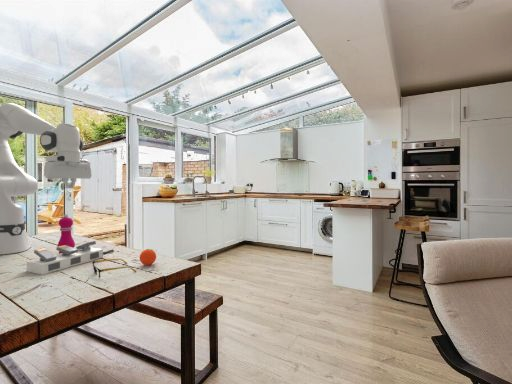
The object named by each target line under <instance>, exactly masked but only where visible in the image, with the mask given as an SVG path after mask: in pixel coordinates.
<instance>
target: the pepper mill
mask: <svg viewBox="0 0 512 384" xmlns="http://www.w3.org/2000/svg"><path fill="white" fill-rule="evenodd" d="M73 225H74V220H73V219H72V218H71V217H69V215H68V214H66V213H65V214H63V217H62V218H60V219H59V220H58V226H59V227H60V228H59V231H60V237H59V240H58V243H57V247H59V246H63V245H66V246H69V247H72V248H75V247H76V243H75V241H74V238H73V236H72V230H73ZM61 253H63V252H61V251H58V254H61Z"/></svg>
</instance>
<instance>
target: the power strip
mask: <svg viewBox="0 0 512 384" xmlns="http://www.w3.org/2000/svg"><path fill="white" fill-rule="evenodd" d="M114 251H115V250H114V249H113V248H112V249H108V250H105V251H104V249H103V248H96V247H91V246H89V247H86V248H82V249H79V250H78V253H74V254H70V255H69V254H66V253H61V254H59V253H57V254H54V255H55V256H57V257H56V260H52V261H48V262H46V261H44V260H43V259H42V258H40V257H39V258H35V259H32V260H27V261H26V272H29V273H34V274H39V275H46V274H49V273H53V272H56V271H60V270H64V269H67V268H70V267H74V266H78V265H82V264H84V263H87V262H88V263H89V262H93V261H97V260H99V259H102V258H103V257H104V255H106V254H109V252H110V253H113V252H114Z"/></svg>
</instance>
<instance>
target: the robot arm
mask: <svg viewBox="0 0 512 384" xmlns="http://www.w3.org/2000/svg"><path fill="white" fill-rule="evenodd" d="M23 134H29V135H37V136H40V137H39V144H40V146H41V148H43V150H45V151H46V152H47V151H48V152H53V153H57V154H53V155H47V156H45V161H46V162H45V163H44V167H43V168H44V169H43V176H44V177H45V178H46V179H62V182H63V184H64V185H65V186H64V187H65V189H75V184H76V183H77V179H79V180H80V179H84V180H85V179H87V180H88V179H89V180H90V179H91V178H92V169H91V162H90V161H89V160H88V159H81V151H83V148H84V141H83V140H82V138H81V133H80V129H79V128H78V126H77V125H75V124H69V123H64V122H59V123H58V124H57V126H55V125H54V124H52V123H50V122H48V121H46V120H45V119H44V118H42V117H39V116H38V115H36V114H35V113H34V112H32V111H30V110H29V109H27V108H25V107H23V106H21V105H19V104H16V103H13V102H6V103H5V102H4V103H3V104H1V105H0V255H9V254H10V255H11V254H16V253H21V252H25V251H28V250H29V249H30V248H32V244H31V245H30V242H29V235H28V234H29V233H28V232H27V231H26V225H25V224H26V223H25V220H24V219H25V218H24V214H25V213H24V208H23V206H21V205H20V204H17V203H14V201H13V200H12V197H25V196H30V195H34V194H35V193H36V192H37V191H38V189H39V183H38V181H37V179H36V178H35V177H33V176H32V175H30V174H28V173H26V172H25V171H24V170H23V169H22V168H21V167H20V166H19V165H18V163H17V162H16V160H15V158H14V156H13V153H12V150H11V147H10V145H9V142H8V141H9V139H11V140H14V139H16V138H17V137H19V136H22V135H23ZM69 180H70V183H69Z"/></svg>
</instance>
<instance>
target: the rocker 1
mask: <svg viewBox="0 0 512 384" xmlns="http://www.w3.org/2000/svg"><path fill="white" fill-rule="evenodd" d="M33 253H34V254H35V255H36V256H37V257H39V258H42V259H43V260H44V261H46V262H48V261H52V260H56V257H57V256H55V255H56V254H54V253H52V252H51V251H50V250H48V249H47V248H46V247H40V248H36V249H34V250H33Z"/></svg>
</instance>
